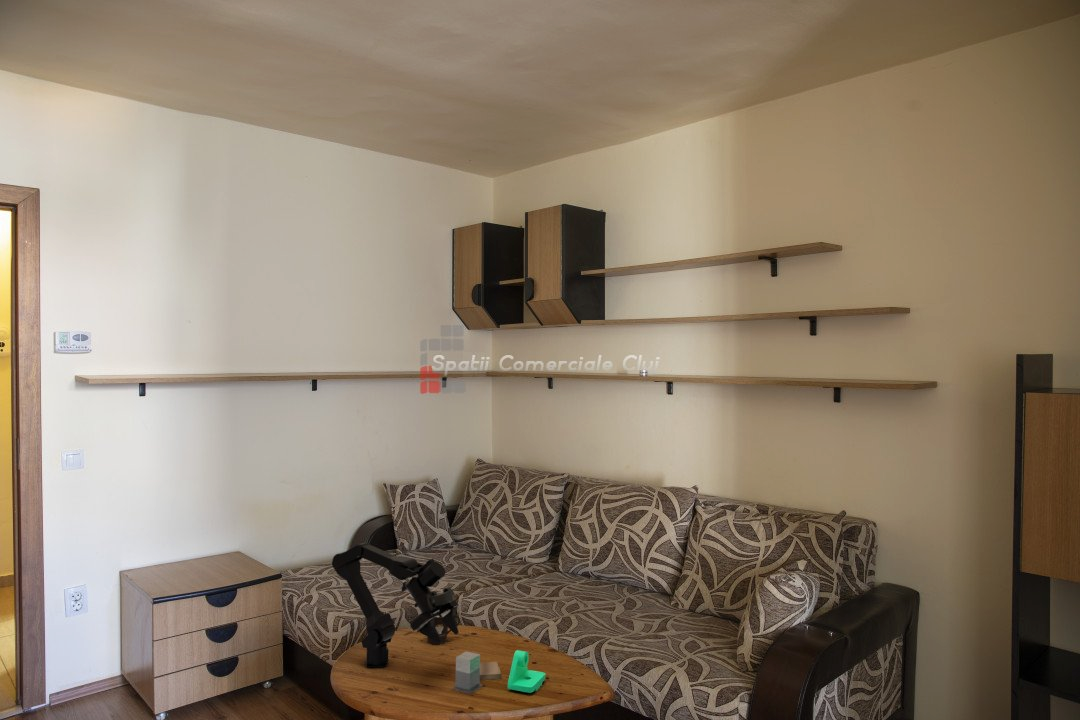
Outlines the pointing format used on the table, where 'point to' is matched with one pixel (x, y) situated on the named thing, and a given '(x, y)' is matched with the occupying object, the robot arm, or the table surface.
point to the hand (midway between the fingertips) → (449, 638)
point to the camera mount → (524, 674)
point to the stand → (489, 671)
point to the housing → (467, 672)
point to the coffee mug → (440, 630)
